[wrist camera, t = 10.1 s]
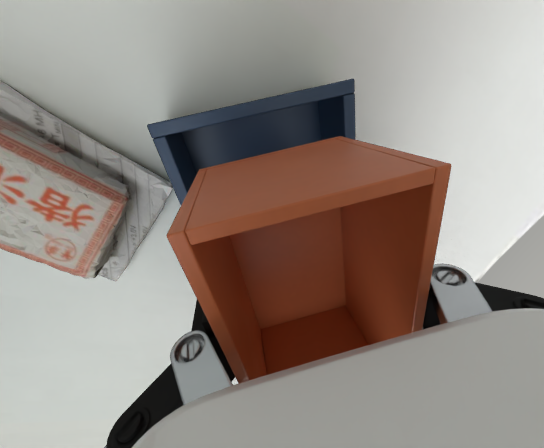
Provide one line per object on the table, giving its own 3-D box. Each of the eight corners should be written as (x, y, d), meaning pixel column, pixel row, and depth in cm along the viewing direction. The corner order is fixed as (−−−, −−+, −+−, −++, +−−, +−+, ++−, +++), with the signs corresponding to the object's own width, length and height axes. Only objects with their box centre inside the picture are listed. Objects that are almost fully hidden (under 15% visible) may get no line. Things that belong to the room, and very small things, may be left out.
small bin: (198, 169, 10) (164, 235, 5) (340, 135, 10) (452, 163, 5) (255, 329, 15) (268, 445, 10) (349, 303, 16) (409, 402, 10)
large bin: (167, 119, 16) (146, 124, 12) (323, 85, 17) (354, 78, 12) (227, 278, 23) (227, 316, 19) (335, 249, 24) (358, 280, 20)
